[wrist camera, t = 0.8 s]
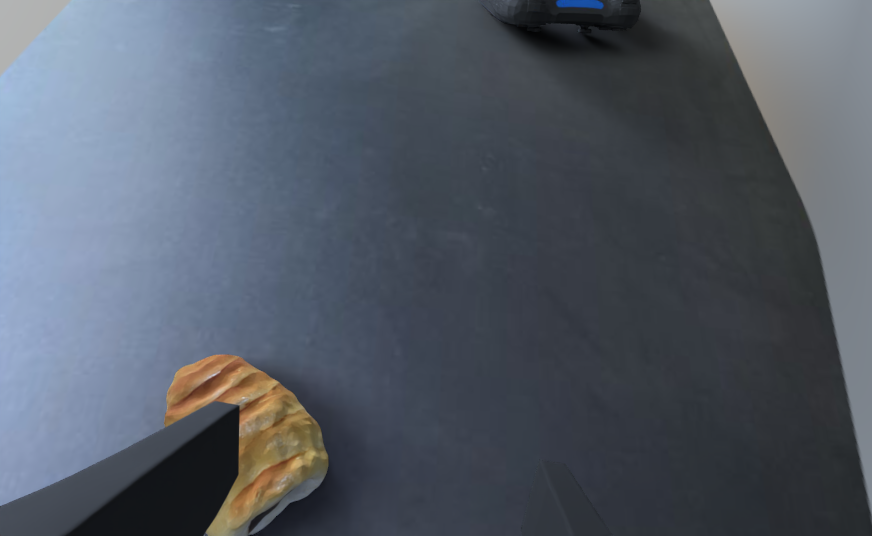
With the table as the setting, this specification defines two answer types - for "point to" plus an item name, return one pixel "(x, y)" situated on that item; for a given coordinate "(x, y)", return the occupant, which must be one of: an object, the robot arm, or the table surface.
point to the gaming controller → (566, 13)
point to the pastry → (254, 440)
